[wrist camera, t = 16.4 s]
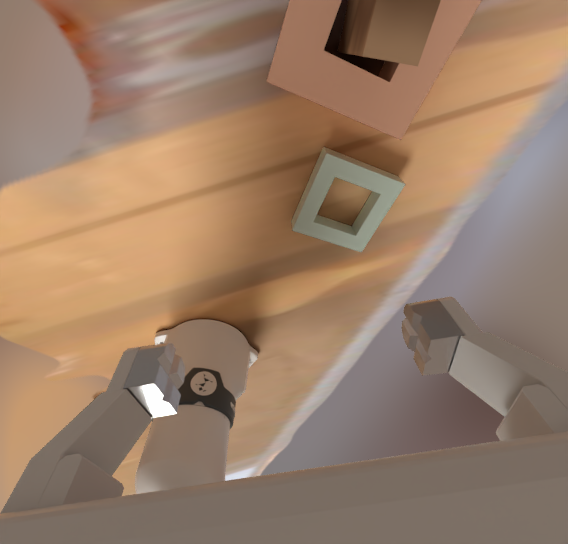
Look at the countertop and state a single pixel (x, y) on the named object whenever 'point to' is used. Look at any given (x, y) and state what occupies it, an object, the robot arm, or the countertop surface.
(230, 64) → the countertop surface
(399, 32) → the plug
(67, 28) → the countertop surface
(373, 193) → the green square frame
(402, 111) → the socket block
